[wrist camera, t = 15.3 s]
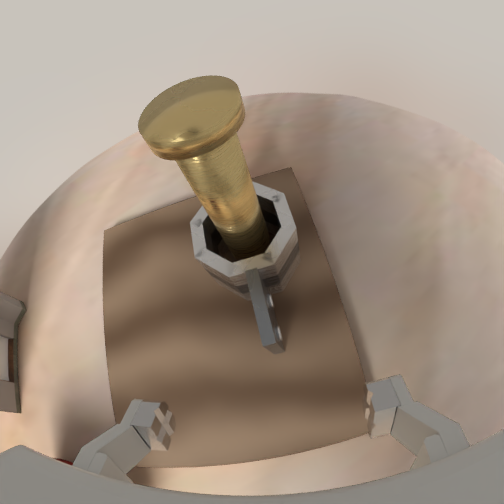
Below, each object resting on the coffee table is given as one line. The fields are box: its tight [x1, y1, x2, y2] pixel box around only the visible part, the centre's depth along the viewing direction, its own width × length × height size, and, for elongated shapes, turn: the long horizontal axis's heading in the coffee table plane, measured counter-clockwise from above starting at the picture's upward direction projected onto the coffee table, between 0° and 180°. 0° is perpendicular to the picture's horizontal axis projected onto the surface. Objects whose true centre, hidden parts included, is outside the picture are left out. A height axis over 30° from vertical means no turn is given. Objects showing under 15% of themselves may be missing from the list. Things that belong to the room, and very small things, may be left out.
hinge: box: [190, 181, 300, 354], centre depth 20 cm, size 15×6×5 cm, turn 13°
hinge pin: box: [138, 76, 271, 261], centre depth 16 cm, size 4×4×14 cm
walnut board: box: [103, 167, 369, 468], centre depth 21 cm, size 22×19×1 cm
